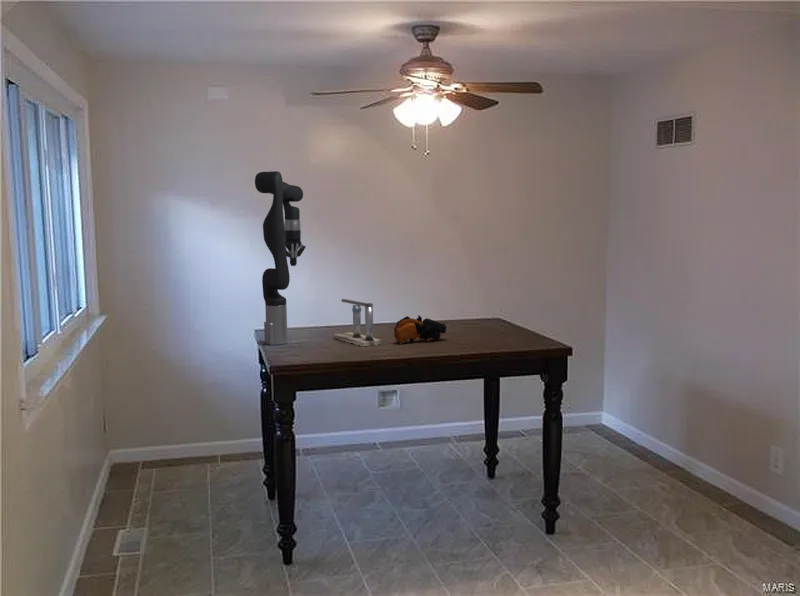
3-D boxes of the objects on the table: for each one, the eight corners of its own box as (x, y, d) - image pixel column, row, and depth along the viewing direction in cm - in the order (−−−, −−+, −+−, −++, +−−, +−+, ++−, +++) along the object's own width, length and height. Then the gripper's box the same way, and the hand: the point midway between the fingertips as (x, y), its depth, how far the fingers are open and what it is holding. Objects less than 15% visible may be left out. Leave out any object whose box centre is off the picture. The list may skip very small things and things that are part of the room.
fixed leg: (368, 341, 332) (367, 304, 330) (340, 333, 351) (339, 298, 348) (374, 340, 334) (374, 303, 332) (346, 333, 353) (345, 298, 350)
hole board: (363, 347, 329) (363, 342, 329) (333, 338, 349) (333, 334, 349) (382, 344, 335) (382, 339, 335) (351, 336, 355) (351, 332, 355)
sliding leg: (355, 337, 339) (355, 306, 338) (351, 336, 343) (350, 305, 341) (363, 336, 342) (362, 305, 340) (358, 335, 345) (357, 304, 343)
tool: (438, 358, 341) (450, 326, 340) (393, 342, 332) (405, 309, 332) (431, 354, 348) (443, 323, 348) (387, 338, 340) (399, 307, 340)
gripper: (283, 229, 355) (284, 267, 357) (308, 229, 362) (309, 265, 365) (276, 229, 361) (277, 266, 363) (300, 228, 368) (301, 264, 371)
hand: (293, 265), depth 364 cm, fingers closed
